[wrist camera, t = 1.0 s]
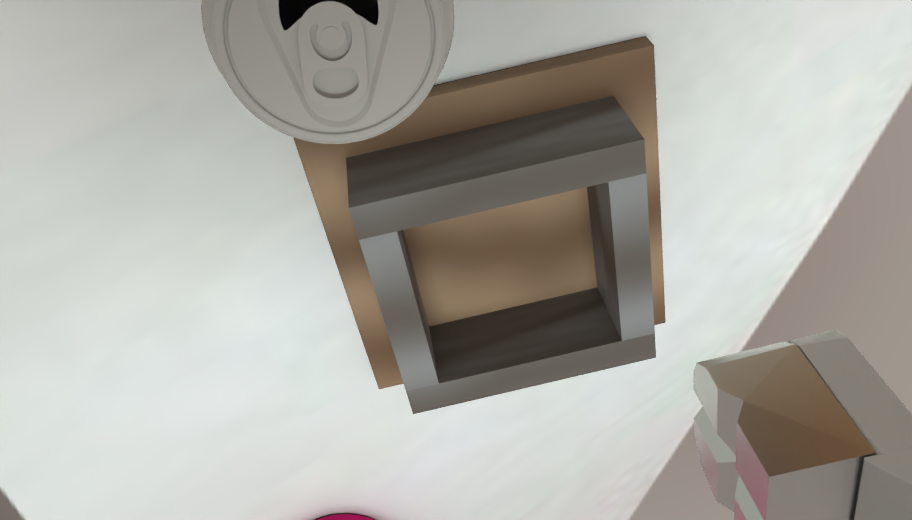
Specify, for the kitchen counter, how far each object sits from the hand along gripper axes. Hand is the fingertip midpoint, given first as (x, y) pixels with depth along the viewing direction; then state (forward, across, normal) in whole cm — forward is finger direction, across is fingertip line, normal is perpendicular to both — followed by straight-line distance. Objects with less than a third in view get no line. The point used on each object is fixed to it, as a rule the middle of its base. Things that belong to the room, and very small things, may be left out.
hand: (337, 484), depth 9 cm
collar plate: (+26, -4, +14) cm, 30 cm away
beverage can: (+26, 0, 0) cm, 26 cm away
